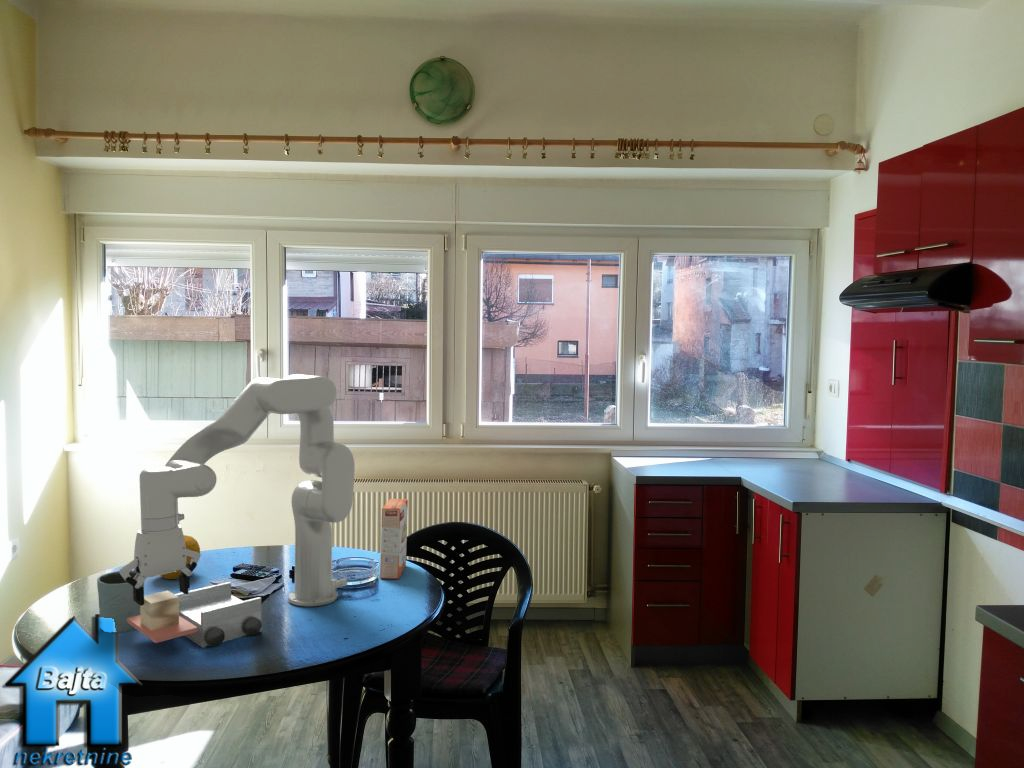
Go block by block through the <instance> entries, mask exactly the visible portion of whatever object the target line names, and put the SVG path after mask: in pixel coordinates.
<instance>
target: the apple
mask: <svg viewBox="0 0 1024 768" xmlns="http://www.w3.org/2000/svg"><path fill="white" fill-rule="evenodd" d="M183 535H184V534H183ZM184 540H185V546H186V549H187V550H190V551H194V552H197V553H199V554H201V547H200V545H199V542H198V540H197V539H195V538H194V537H193V536H190V535H184ZM190 561H191V557H190V556H187V564H186V566H187V565H188V563H189V562H190ZM180 574H181V572H180V571H175V572H171V573H166V574H162V575H160V577H162V578H163V579H166V580H179V575H180Z"/></svg>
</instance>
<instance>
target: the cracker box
mask: <svg viewBox="0 0 1024 768" xmlns="http://www.w3.org/2000/svg"><path fill="white" fill-rule="evenodd" d="M408 503H409V499H407V498H390V499H388V501H387V502H386V503H384V504H385V505H384V506H383V507H382V508H381V523H380V524H381V525H380V527H381V533H380V563H379V564H380V565H379V566H380V567H379V568H380V569H379V579H384V580H385V579H387V580H388V579H389V580H399V579H400V577H401V575H402V574H403V572H404V569H405V567H406V565H407V540H408V538H407V537H408V535H407V534H408V511H409V510H408V507H409V505H408Z"/></svg>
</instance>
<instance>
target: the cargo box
mask: <svg viewBox="0 0 1024 768" xmlns="http://www.w3.org/2000/svg"><path fill="white" fill-rule="evenodd" d="M175 594H176V593H173V592H171V591H170V590H162V591H159V592H155V593H150V594H144V605H142V606H140V614H141V624H143V625H144V626H146V627H147V628H148V629H150V630H155V629H159V628H163V627H167V626H171V625H175V624H178V623H179V597H178V596H176V595H175Z"/></svg>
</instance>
